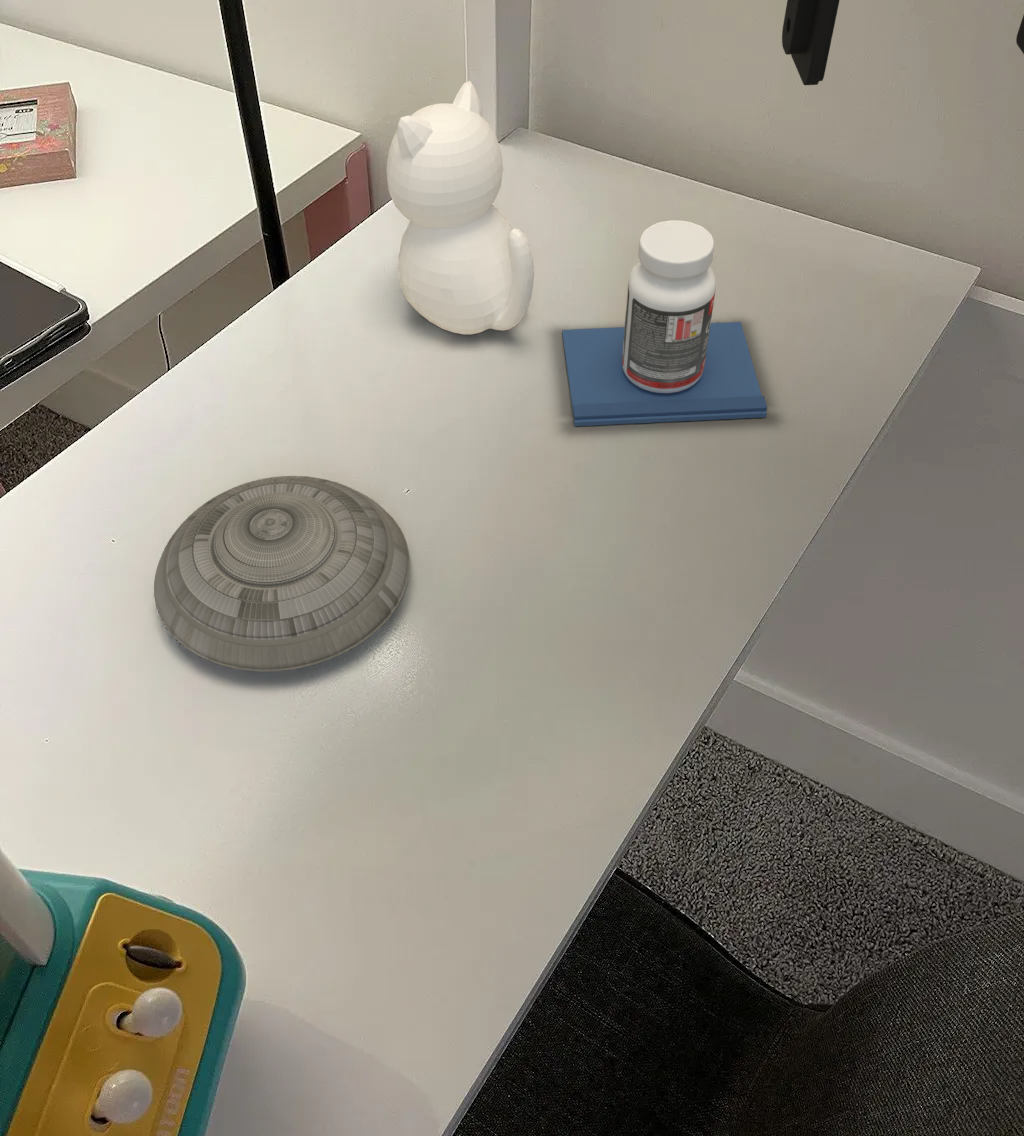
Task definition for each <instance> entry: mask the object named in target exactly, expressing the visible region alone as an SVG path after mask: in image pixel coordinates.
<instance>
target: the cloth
mask: <svg viewBox="0 0 1024 1136" xmlns="http://www.w3.org/2000/svg"><path fill="white" fill-rule="evenodd" d="M624 329H625V326H618V327H617V326H616V327H596V328H574V329H571V328H570V329H562V330H561V336H562V343H563V344H562V345H563V351H564V356H565V366H566V373H567V380H568V388H569V395H570V404H571V411H572V419H573V425H574V427H590V426H608V425H630V424H633V425H634V424H650V423H651V424H655V423H673V422H674V423H675V422H694V421H695V422H698V421H716V420H717V421H718V420H737V419H738V420H739V419H757V418H758V419H759V418H760V419H761V418H767V414H768V412H767V411H768V406H767V402H766V399H765V396H764V395H762V391H761V387H760V384H759V380H758V377H757V373H756V370H755V366H754V363H753V360H752V357H751V353H750V349H749V346H748V343H747V342H748V341H747V339H746V335H745V332H744V328H743V325H742V322H741V321H730V322H711V324H710V331H709V338H708V345H707V352H706V360H705V366H704V370H703V373H702V375H701V377H700V379H699V380H698V381H697V382H696V383H695V384H694V385H692V386H691V387H689V388H687V389H685V390H682V391H679V392H674V393H655V392H650V391H647V390H644V389H642V388H640V387H638V386H636V385H635V384H633V383H632V382H631V381H630V380H629V379H628V378H627V376H626V375H625V373H624V370H623V366H622V354H623V340H624Z"/></svg>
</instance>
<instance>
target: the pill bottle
mask: <svg viewBox="0 0 1024 1136" xmlns="http://www.w3.org/2000/svg"><path fill="white" fill-rule="evenodd" d="M714 250H715V239H714V236H713V235H712V234H711V233H710V232H709V231H708V230H707V229H706V228H705V227H703V226H702V225H700V224H697V223H694V222H691V221H687V220H679V219H671V220H669V219H668V220H664V221H660V222H659V221H658V222H656V223H654V224H653V225H650V226H648V227H647V228H646V229H645V230H644V231H643V232H642V234H641V236H640V239H639V245H638V255H637V257H638V260H639V261H638V262H637V263H636V264H635V265H634V267H633V268H632V269H631V271H630V274H629V278H628V281H627V282H628V283H627V292H626V293H627V294H626V305H625V319H624V327H625V329H624V340H623V354H622V366H623V370H624V373H625V375H626V376H627V378H628V379H629V380H630V381H631V382H632V383H633V384H635V385H636V386H638V387H640V388H642V389H644V390H647V391H650V392H655V393H674V392H679V391H682V390H685V389H687V388H689V387H691V386H692V385H694V384H695V383H696V382H697V381H698V380H699V379H700V377H701V375H702V373H703V370H704V366H705V360H706V352H707V345H708V338H709V331H710V324H711V323H712V316H713V310H714V303H715V297H716V289H717V280H716V276H715V273H714V271H713V269H712V268H711V265H712V263H713V260H714Z"/></svg>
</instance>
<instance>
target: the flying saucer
mask: <svg viewBox="0 0 1024 1136" xmlns="http://www.w3.org/2000/svg"><path fill="white" fill-rule="evenodd" d="M410 568H411V558H410V549H409V546H408V543H407V540H406V537H405V534H404V533H403V531H402V529H401V527H400V526H399V524H398V523H397V521H396V520H395V519H394V518H393V516H392V515H391V514H390V513H389V512H388V511H387V510H386V509H384V507H382V506H381V505H380V504H378V502H376V501H375V500H374V499H372V498H371V497H370V496H367V495H366V494H364V493H362V492H360V491H358V490H356V489H354V488H352V487H351V486H348V485H345V484H342V483H339V482H337V481H334V480H333V481H332V480H330V479H325V478H320V477H314V476H305V475H304V476H303V475H281V476H271V477H265V478H261V479H256V480H252V481H251V480H250V481H249V482H245V483H242V484H240V485H237V486H234V487H231V488H229V489H227V490H225V491H223V492H221V493H219V494H218V495H216V496H214V497H212V498H211V499H209V500H208V501H206V502H205V503H203V504H202V505H200V506H199V507H198V508H197V509H195V510H194V511H193V512H192V513H191V514H190V515H189V516H188V517H187V518H186V519H185V520H184V521H183V522H182V523H181V524H180V525H179V527H178V528H177V529H176V530H175V532H174V533H173V534H172V536H171V537H170V539H169V540H168V542H167V544H166V545H165V546H164V549H163V551H162V553H161V555H160V559H159V561H158V563H157V567H156V570H155V573H154V574H155V575H154V580H153V581H154V582H153V596H154V601H155V606H156V609H157V612H158V615H159V617H160V620H161V621H162V623H163V625H164V626H165V628H166V630H167V631H168V632H169V633H170V634H171V636H172V637H173V638H174V639H175V640H176V641H177V642H178V643H179V644H181V645H182V646H183V647H184V648H185V649H187V650H188V651H190V652H192V653H193V654H194V655H196V656H198V657H200V658H202V659H203V660H206V661H209V662H211V663H213V664H217V665H219V666H222V667H227V668H229V669H230V668H231V669H236V670H240V671H247V672H248V671H250V672H283V671H290V670H297V669H301V668H306V667H310V666H314V665H317V664H320V663H323V662H326V661H329V660H331V659H333V658H336V657H339V656H341V655H343V654H344V653H347V652H348V651H350V650H352V649H354V648H356V647H357V646H359V645H360V644H361V643H363V642H364V641H366V640H367V639H368V638H370V637H371V636H372V635H373V634H375V633H376V632H377V631H378V630H379V629H381V627H382V626H383V625H385V623H386V622H387V621H388V620H389V618H390V617H391V616H392V615H393V613H394V612H395V610H396V609H397V608H398V605H399V604H400V602H401V600H402V598H403V596H404V593H405V591H406V588H407V585H408V582H409V577H410V571H411V569H410Z"/></svg>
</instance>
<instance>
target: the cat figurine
mask: <svg viewBox="0 0 1024 1136" xmlns="http://www.w3.org/2000/svg"><path fill="white" fill-rule="evenodd" d="M485 119H486V118H484V117H483V108H482V103H481V98H480V96H479V94H478V91H477V90H476V88H475V86H474V84H472V82H471V80H467V81H465V82H464V83H463V84H462V85H461V87H460V88H459V90H458V92H457V94H456V96H455V97H454V100H453V102H452V103H434V104H430V105H427V106H423V107H422V108H419V109H418V110H416V111H415V112H414V113H412V114H410V115H404V116H401V117H400V118H399V120H398V123H397V127H396V131H395V133H394V135H393V138H392V140H391V143H390V146H389V150H388V155H387V162H386V182H387V189H388V193H389V196H390V198H391V200H392V203H393V205H394V207H395V208H396V209H397V211H398V212H400V214H402V215H403V216H404V217H405V218H406V219H407V220H409V223H408V225H407V226H406V228H405V230H404V233H403V235H402V238H401V243H400V246H399V252H398V265H397V269H398V281H399V284H400V288H401V291H402V293H403V297H404V299H406V300H407V302H409V304H410V305H411V307H412V308H413V310H415V311H416V312H418V314H420V316H422V317H423V318H425V320H427V321H428V322H430V324H434V325H435V326H437V327H438V328H440V329H443V330H445V331H448V332H451V333H455V334H459V335H476V334H480V333H482V332H485V331H487V330H491V329H492V330H495V331H507V330H510V329H513V328H514V327H516V326H517V325H518V324H519V323H520V322H521V321H522V320H523V318H524V317H525V316H526V313H527V311H528V308H529V305H530V302H531V299H532V295H533V289H534V283H535V281H534V280H535V279H534V278H535V269H534V267H535V266H534V257H533V252H532V249H531V246H530V243H529V240H528V238H527V237H526V235H525V233H524V232H523V231H522V230H521V229H519V228H517V227H516V228H513V226H512V224H511V223H510V221H509V219H508V218H507V217H506V216H505V215H504V214H503V213H502V212H501V211H500V210H499V208H497V207H496V206H495V205H493V204H494V203H495V201H496V199H497V197H498V195H499V192H500V190H501V187H502V182H503V174H504V164H503V163H504V162H503V156H502V149H501V147H500V143H499V140H498V138H497V136H496V134H495V132H494V130H493V128H492V127H491V126H490V125H489V123H488V122H487V121H486V120H485Z"/></svg>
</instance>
